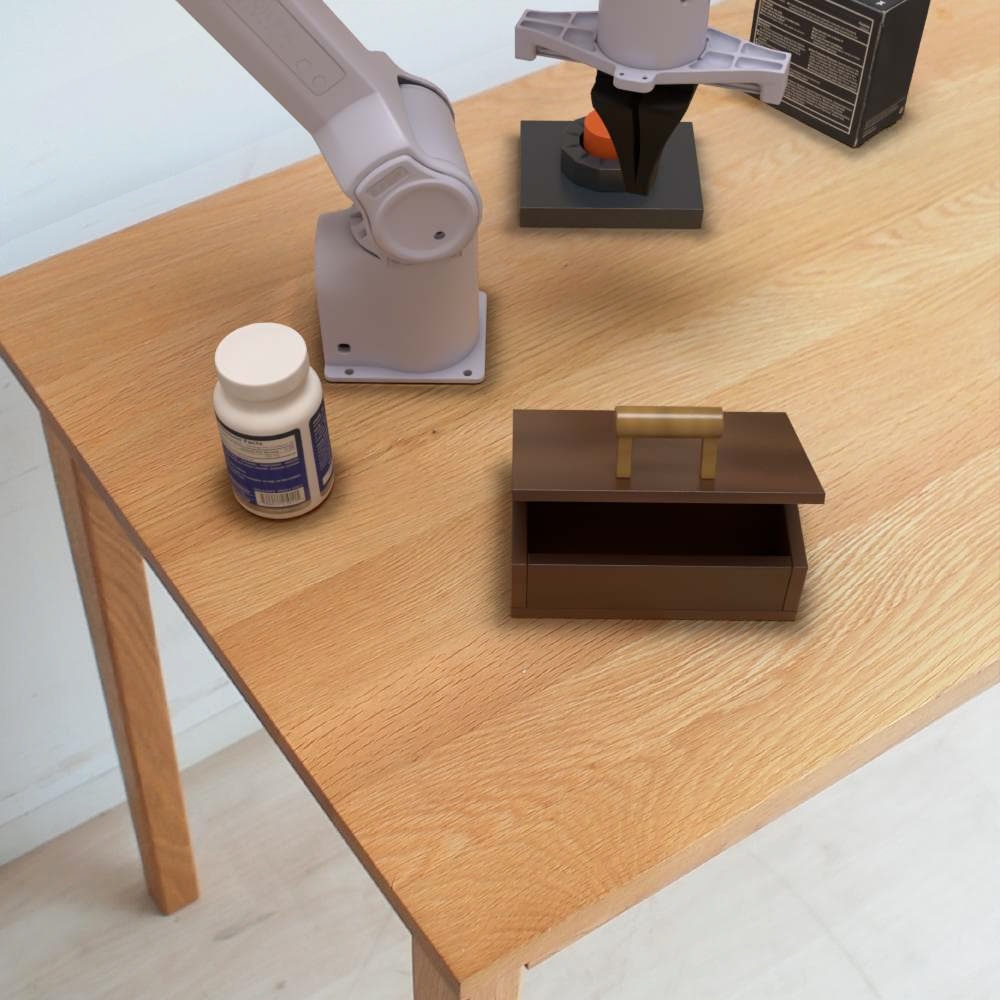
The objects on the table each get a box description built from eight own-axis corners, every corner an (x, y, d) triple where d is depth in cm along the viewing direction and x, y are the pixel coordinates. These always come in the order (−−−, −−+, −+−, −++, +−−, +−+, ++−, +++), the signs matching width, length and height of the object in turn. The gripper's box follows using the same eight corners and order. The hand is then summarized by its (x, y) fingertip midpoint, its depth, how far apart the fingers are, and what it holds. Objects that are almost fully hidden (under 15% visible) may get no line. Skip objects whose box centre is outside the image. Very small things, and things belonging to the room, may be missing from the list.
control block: (519, 228, 95) (520, 184, 93) (520, 140, 102) (520, 97, 99) (701, 230, 95) (707, 186, 93) (690, 142, 102) (695, 98, 99)
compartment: (795, 620, 74) (808, 568, 71) (510, 617, 74) (511, 564, 71) (773, 475, 81) (784, 421, 77) (512, 473, 81) (512, 418, 78)
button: (583, 160, 95) (585, 137, 94) (582, 129, 98) (583, 106, 96) (638, 161, 95) (640, 138, 94) (635, 129, 97) (637, 107, 96)
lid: (824, 504, 67) (833, 422, 66) (511, 501, 67) (512, 419, 66) (785, 422, 77) (791, 348, 76) (512, 419, 77) (513, 346, 76)
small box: (909, 115, 104) (942, -21, 96) (855, 152, 101) (885, 14, 93) (792, 57, 109) (815, -76, 101) (737, 91, 106) (756, -44, 98)
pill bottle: (283, 432, 83) (262, 299, 75) (356, 479, 80) (341, 346, 73) (210, 489, 80) (180, 357, 73) (283, 540, 78) (260, 408, 70)
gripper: (494, -23, 72) (497, 201, 82) (784, 24, 68) (750, 251, 79) (538, -88, 76) (535, 132, 86) (812, -47, 73) (776, 177, 83)
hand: (640, 184), depth 83 cm, fingers closed
